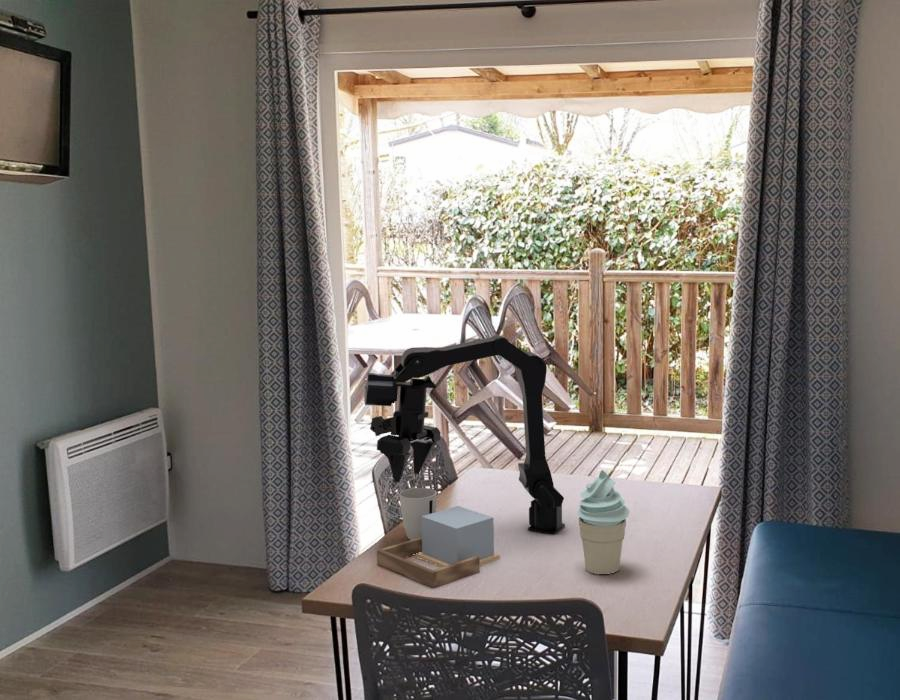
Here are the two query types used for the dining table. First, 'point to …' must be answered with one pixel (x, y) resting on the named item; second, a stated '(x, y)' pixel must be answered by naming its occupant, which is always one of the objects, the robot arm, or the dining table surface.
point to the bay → (396, 562)
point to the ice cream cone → (602, 525)
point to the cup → (416, 509)
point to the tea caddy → (457, 537)
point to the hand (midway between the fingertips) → (406, 477)
